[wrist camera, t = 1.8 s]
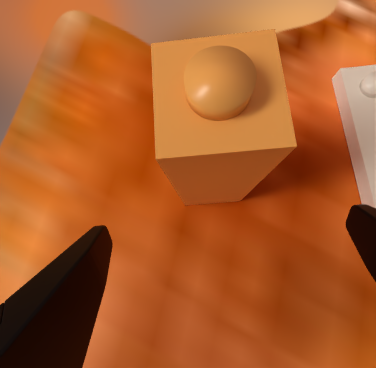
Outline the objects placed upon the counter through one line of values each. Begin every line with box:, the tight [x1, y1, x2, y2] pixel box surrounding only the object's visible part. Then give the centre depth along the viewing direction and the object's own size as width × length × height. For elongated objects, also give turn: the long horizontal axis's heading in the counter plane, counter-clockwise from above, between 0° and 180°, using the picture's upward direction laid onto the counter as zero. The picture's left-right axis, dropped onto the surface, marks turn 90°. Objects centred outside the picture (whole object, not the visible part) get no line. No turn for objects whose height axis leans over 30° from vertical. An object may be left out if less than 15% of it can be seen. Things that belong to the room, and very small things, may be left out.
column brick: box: [151, 29, 297, 205], centre depth 14 cm, size 5×5×13 cm
